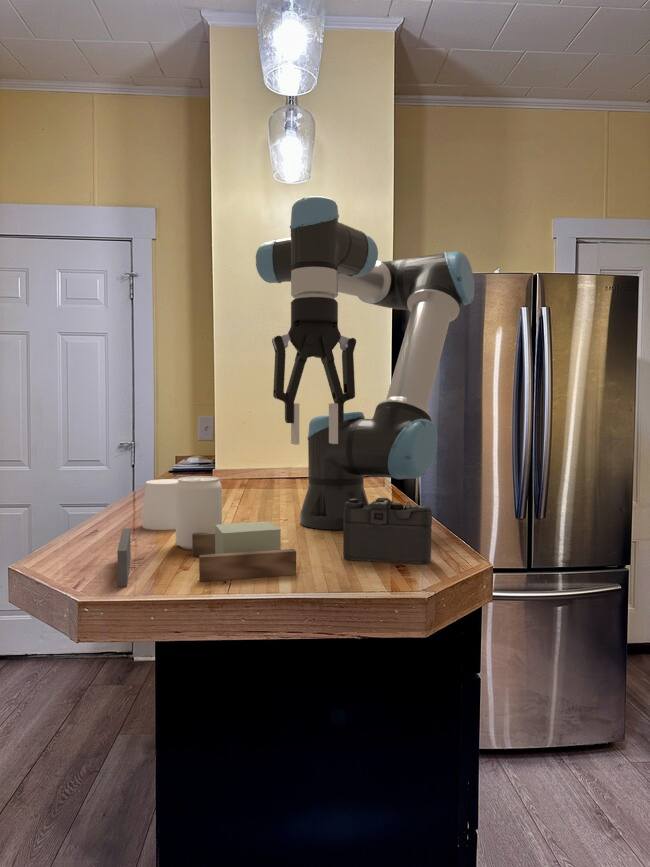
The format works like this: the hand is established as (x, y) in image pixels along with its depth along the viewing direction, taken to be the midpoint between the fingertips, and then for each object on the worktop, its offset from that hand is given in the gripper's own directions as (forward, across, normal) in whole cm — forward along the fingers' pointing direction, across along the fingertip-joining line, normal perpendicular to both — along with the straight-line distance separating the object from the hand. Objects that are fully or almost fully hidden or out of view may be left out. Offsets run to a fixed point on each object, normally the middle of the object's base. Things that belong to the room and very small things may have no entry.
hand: (314, 443), depth 101 cm
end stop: (+19, +30, 0) cm, 35 cm away
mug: (+19, +22, -34) cm, 44 cm away
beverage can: (+19, +17, -15) cm, 30 cm away
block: (+19, +11, 0) cm, 22 cm away
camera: (+19, -12, +1) cm, 23 cm away
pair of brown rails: (+19, +12, 0) cm, 22 cm away
